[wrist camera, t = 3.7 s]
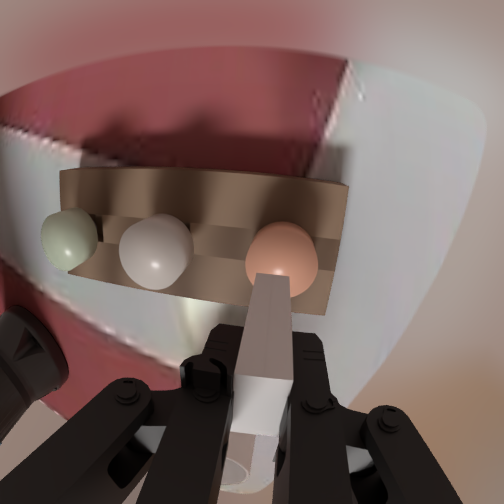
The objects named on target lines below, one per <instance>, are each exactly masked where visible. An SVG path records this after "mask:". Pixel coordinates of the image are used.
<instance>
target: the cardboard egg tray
mask: <svg viewBox="0 0 504 504" xmlns="http://www.w3.org/2000/svg"><path fill="white" fill-rule="evenodd" d="M348 189H349V186H346V185H344V184H342V183H339V182H333V181H326V180H319V179H312V178H304V177H296V176H288V175H279V174H269V173H259V172H248V171H236V170H222V169H206V168H186V167H145V166H124V167H84V168H74V169H68V170H61V171H60V204H61V211H64V210H66V209H69V208H73V207H77V208H80V209H82V210H84V211H85V212H87V213H88V214H89V216H90V217H91V218H92V220H93V221H94V222H95V224H96V226H97V235H98V244H97V249H96V251H95V253H94V255H93V256H92V257H91V258H89V259H88V260H86V261H85V262H83V263H81V264H80V265H78V266H76V267H75V268H73V269H72V270H70V271H68V274H72V275H76V276H80V277H85V278H89V279H94V280H98V281H103V282H108V283H112V284H117V285H122V286H127V287H132V288H137V289H142V290H147V291H153V292H158V293H164V294H169V295H175V296H181V297H187V298H193V299H199V300H205V301H212V302H218V303H225V304H232V305H239V306H246V307H249V304H250V299H251V295H252V290H253V285H252V283H251V282H250V280H249V278H248V276H247V273H246V268H245V261H246V256H247V253H248V250H249V248H250V245H251V243H252V241H253V238H254V237H255V235H256V234H257V233H258V231H259V230H261V229H262V228H263V227H265V226H266V225H268V224H271V223H274V222H281V221H284V222H291V223H294V224H296V225H298V226H300V227H302V228H303V229H304V230H305V231H306V232H307V233H308V234H309V236H310V237H311V239H312V241H313V244H314V248H315V251H316V255H317V259H318V271H317V275H316V277H315V280H314V281H313V283H312V284H311V286H310V287H309V288H308V289H307V290H305V291H304V292H303V293H301V294H299V295H297V296H294V297H291V312H295V313H304V314H314V315H324V316H325V312H326V308H327V304H328V300H329V295H330V291H331V286H332V281H333V277H334V272H335V267H336V262H337V256H338V251H339V246H340V240H341V235H342V229H343V223H344V217H345V210H346V203H347V197H348ZM155 214H168V215H172V216H174V217H176V218H177V219H179V220H180V221H181V222H183V223H184V224H185V226H186V227H187V228H188V230H189V231H190V233H191V236H192V239H193V243H194V254H193V258H192V261H191V262H190V264H189V265H188V267H187V268H186V269H185V270H184V271H183V273H182V274H181V275H180V276H179V277H178V278H177V280H176V281H175V282H174V283H173V284H172V285H170V286H169V287H167V288H164V289H160V290H152V289H147V288H145V287H142V286H140V285H139V284H137V283H136V282H134V281H133V280H132V279H131V278H130V277H129V276H128V274H127V273H126V271H125V270H124V268H123V266H122V263H121V260H120V256H119V244H120V240H121V237H122V235H123V234H124V232H125V231H126V230H127V229H128V228H129V227H130V226H132V225H134V224H136V223H138V222H140V221H142V220H144V219H146V218H148V217H150V216H152V215H155Z"/></svg>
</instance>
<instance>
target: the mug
mask: <svg viewBox="0 0 504 504" xmlns="http://www.w3.org/2000/svg"><path fill="white" fill-rule="evenodd" d="M255 437H256V435H255V434H247V433H239V432H232V431H230V435H229V444H228V450H227V455H226V460H225V465H224V470H223V475H222V480H221V485H234V484H239V483H242V482H244V481H246V480H247V479H248V478H249V475H250V469H251V463H252V456H253V450H254V443H255Z"/></svg>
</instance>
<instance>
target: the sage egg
mask: <svg viewBox="0 0 504 504" xmlns="http://www.w3.org/2000/svg"><path fill="white" fill-rule="evenodd" d="M41 241H42V246H43V249H44V252H45V254H46V256H47V258H48V259H49V261H50V262H51V263H52V264H53V265H54V266H55V267H56V268H57V269H59V270H62V271H70V270H72V269H73V268H75V267H76V266H78V265H80V264H81V263H83V262H85V261H86V260H88V259H89V258H91V257H92V256H93V255H94V253H95V251H96V249H97V244H98V235H97V226H96V224H95V222H94V221H93V220H92V218H91V217H90V216H89V214H88V213H87V212H85V211H84V210H82V209H80V208H77V207H73V208H69V209H66V210H64V211H61V212H58V213H55V214H52V215H50V216H48V217H47V218H46V219H45V221H44V223H43V225H42V229H41Z"/></svg>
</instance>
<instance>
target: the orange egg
mask: <svg viewBox="0 0 504 504" xmlns="http://www.w3.org/2000/svg"><path fill="white" fill-rule="evenodd" d="M245 268H246V273H247V276H248V278H249V280H250V282H251V283H252V285H253V286H254V281H255V276H256V273H264V274H273V275H282V276H289V279H290V298H291V297H294V296H297V295H299V294H301V293H303V292H304V291H305V290H307V289H308V288H309V287H310V286H311V284H312V283H313V281H314V280H315V277H316V275H317V271H318V259H317V255H316V251H315V248H314V244H313V241H312V239H311V237H310V236H309V234H308V233H307V232H306V231H305V230H304V229H303V228H302V227H300V226H298V225H296V224H294V223H291V222H284V221H281V222H274V223H271V224H268V225H266V226H265V227H263V228H262V229H261V230H259V231H258V233H257V234H256V235H255V237H254V238H253V241H252V243H251V245H250V248H249V250H248V253H247V256H246V261H245Z"/></svg>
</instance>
